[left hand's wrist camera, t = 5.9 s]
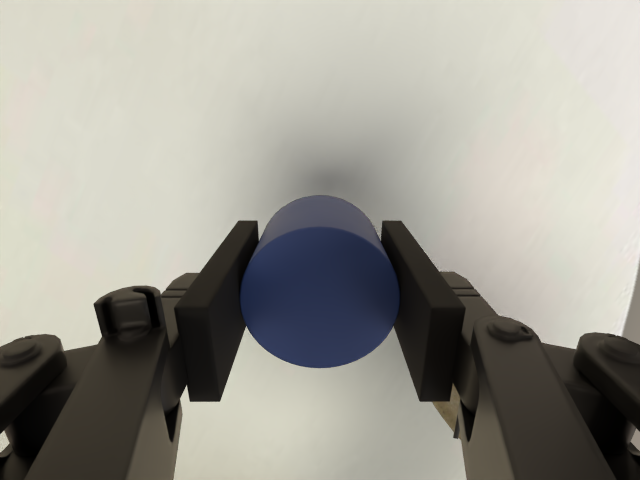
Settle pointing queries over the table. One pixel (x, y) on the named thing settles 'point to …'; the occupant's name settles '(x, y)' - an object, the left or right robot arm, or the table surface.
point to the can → (319, 285)
